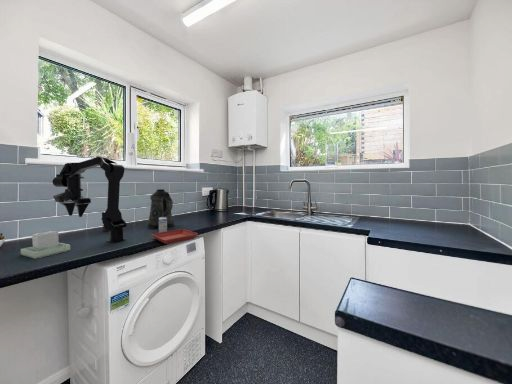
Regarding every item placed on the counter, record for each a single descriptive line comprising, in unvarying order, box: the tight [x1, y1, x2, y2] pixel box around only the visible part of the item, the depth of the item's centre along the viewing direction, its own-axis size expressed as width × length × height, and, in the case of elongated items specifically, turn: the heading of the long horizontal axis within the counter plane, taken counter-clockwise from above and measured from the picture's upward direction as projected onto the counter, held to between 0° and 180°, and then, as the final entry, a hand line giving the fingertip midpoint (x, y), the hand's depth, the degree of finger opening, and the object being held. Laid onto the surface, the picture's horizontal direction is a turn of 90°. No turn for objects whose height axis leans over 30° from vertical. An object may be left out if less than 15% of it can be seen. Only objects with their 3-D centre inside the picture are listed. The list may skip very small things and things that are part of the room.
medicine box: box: [158, 217, 168, 233], centre depth 134 cm, size 8×4×9 cm, turn 23°
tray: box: [20, 242, 71, 260], centre depth 97 cm, size 12×12×2 cm
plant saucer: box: [151, 228, 199, 245], centre depth 119 cm, size 18×18×3 cm
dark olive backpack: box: [146, 188, 175, 230], centre depth 151 cm, size 16×19×25 cm
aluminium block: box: [31, 230, 60, 252], centre depth 97 cm, size 4×7×8 cm, turn 156°
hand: (75, 216), depth 120 cm, fingers open, 9 cm apart
